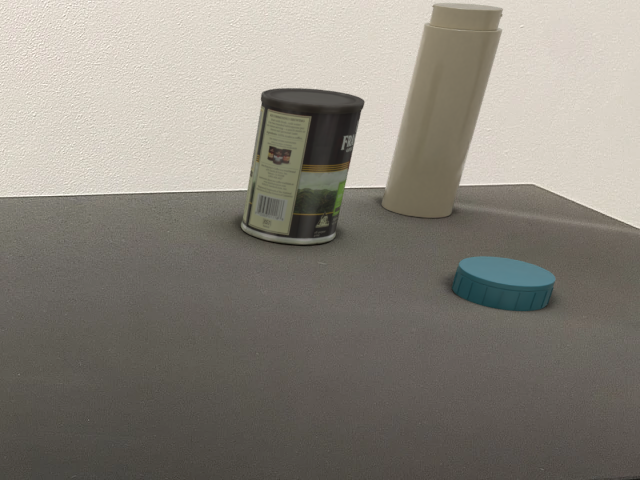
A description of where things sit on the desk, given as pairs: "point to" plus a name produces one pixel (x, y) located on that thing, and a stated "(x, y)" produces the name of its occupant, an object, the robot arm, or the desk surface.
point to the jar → (442, 109)
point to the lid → (503, 283)
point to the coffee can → (300, 164)
